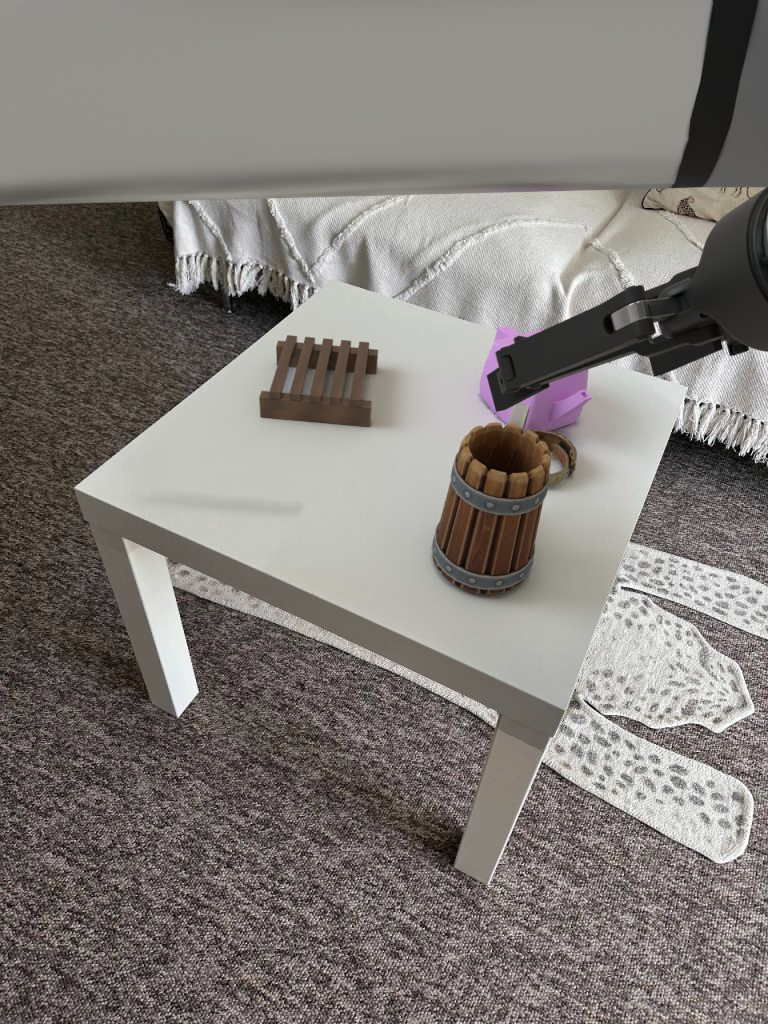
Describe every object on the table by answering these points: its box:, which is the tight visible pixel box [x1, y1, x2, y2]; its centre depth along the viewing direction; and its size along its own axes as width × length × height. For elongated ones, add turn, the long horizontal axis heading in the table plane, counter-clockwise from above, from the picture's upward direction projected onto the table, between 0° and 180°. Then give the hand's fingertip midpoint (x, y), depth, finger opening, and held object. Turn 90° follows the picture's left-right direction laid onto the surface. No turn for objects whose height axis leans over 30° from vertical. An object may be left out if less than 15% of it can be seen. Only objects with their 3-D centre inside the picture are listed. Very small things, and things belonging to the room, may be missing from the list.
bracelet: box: [524, 429, 578, 488], centre depth 86 cm, size 9×9×3 cm
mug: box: [431, 403, 552, 595], centre depth 71 cm, size 16×11×15 cm
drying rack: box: [258, 334, 379, 428], centre depth 94 cm, size 14×14×4 cm
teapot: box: [479, 325, 593, 431], centre depth 92 cm, size 18×10×10 cm, turn 28°
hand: (577, 375), depth 52 cm, fingers open, 13 cm apart
